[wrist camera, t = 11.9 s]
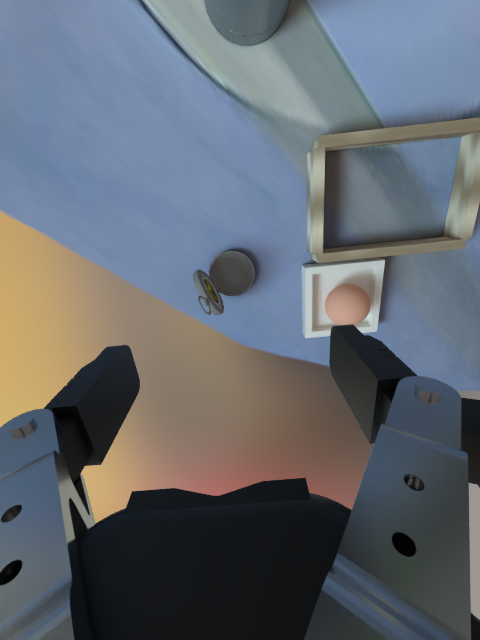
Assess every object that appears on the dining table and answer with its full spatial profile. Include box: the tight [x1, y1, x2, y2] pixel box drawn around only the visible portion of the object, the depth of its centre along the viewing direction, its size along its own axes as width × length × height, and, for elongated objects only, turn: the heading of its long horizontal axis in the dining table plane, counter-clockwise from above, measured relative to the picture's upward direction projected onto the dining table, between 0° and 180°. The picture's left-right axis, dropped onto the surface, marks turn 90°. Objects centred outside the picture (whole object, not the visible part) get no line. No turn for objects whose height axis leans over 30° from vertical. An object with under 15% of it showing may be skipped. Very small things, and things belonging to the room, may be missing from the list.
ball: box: [325, 284, 371, 325], centre depth 38 cm, size 6×6×6 cm
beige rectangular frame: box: [307, 118, 480, 263], centre depth 35 cm, size 14×20×4 cm
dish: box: [302, 257, 385, 338], centre depth 41 cm, size 11×11×2 cm
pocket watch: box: [193, 251, 255, 315], centre depth 36 cm, size 8×8×10 cm
